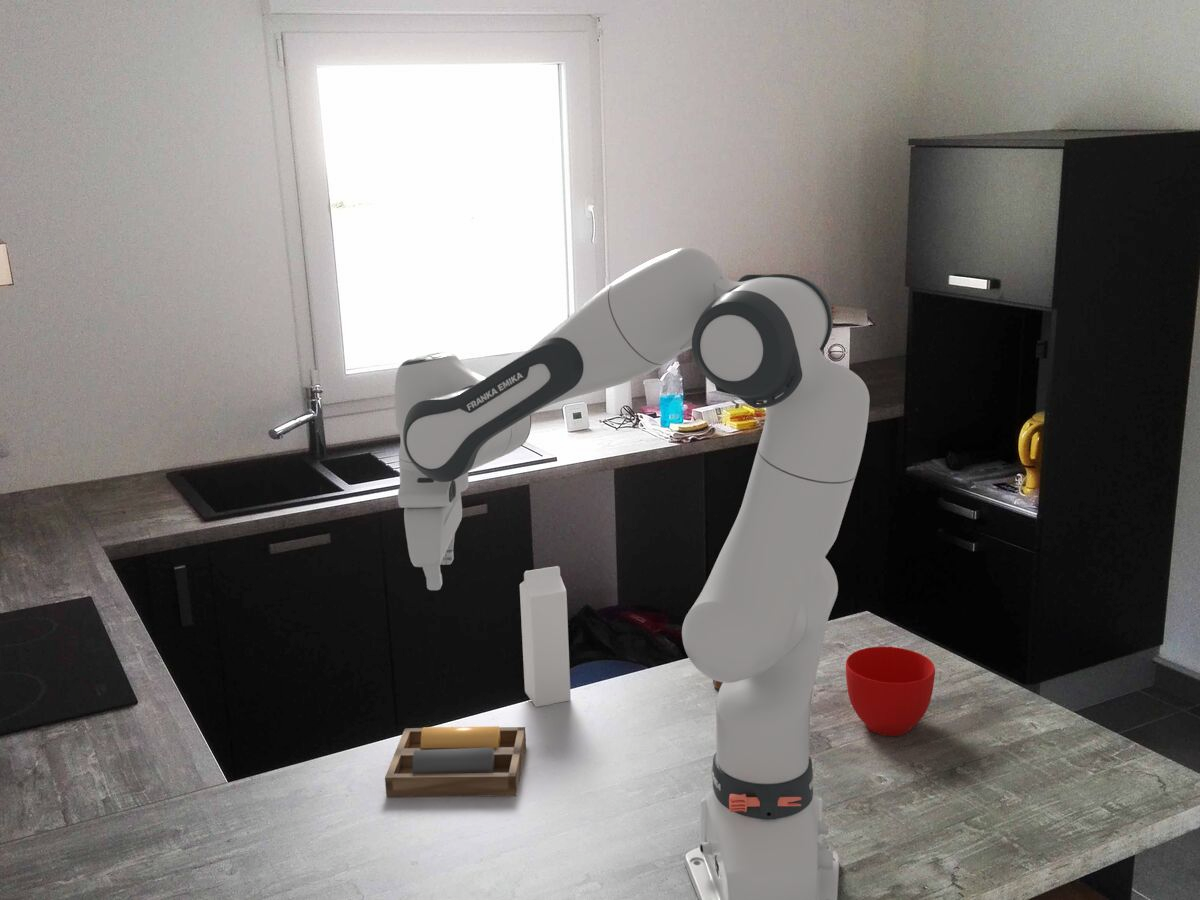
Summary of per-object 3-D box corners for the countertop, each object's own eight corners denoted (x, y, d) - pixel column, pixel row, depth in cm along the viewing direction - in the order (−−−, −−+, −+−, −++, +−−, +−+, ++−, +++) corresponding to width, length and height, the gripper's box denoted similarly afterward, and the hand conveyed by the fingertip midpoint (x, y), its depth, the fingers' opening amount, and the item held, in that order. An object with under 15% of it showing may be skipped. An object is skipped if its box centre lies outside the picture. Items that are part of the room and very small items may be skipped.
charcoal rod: (494, 768, 165) (493, 742, 165) (492, 781, 161) (491, 755, 161) (417, 771, 165) (415, 745, 165) (413, 785, 161) (411, 758, 161)
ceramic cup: (930, 697, 184) (933, 639, 182) (933, 750, 169) (936, 687, 166) (847, 690, 188) (849, 633, 185) (842, 741, 172) (843, 679, 169)
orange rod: (500, 733, 172) (497, 721, 169) (499, 759, 169) (496, 747, 166) (426, 734, 172) (422, 722, 169) (424, 760, 170) (419, 748, 167)
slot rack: (516, 795, 160) (515, 776, 159) (386, 797, 161) (384, 777, 160) (526, 745, 173) (525, 727, 173) (406, 746, 174) (404, 728, 173)
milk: (524, 692, 191) (517, 565, 185) (559, 685, 193) (553, 559, 187) (535, 708, 185) (528, 577, 180) (571, 700, 187) (565, 571, 182)
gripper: (424, 456, 163) (431, 549, 166) (394, 499, 143) (402, 604, 146) (469, 455, 162) (475, 548, 166) (445, 498, 143) (452, 603, 146)
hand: (441, 575), depth 156 cm, fingers open, 8 cm apart
